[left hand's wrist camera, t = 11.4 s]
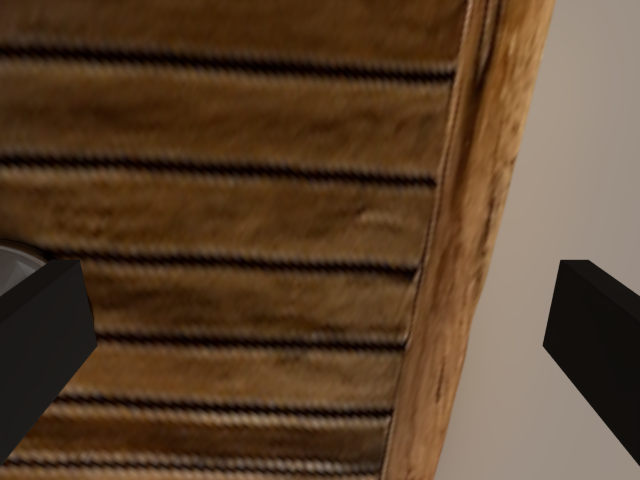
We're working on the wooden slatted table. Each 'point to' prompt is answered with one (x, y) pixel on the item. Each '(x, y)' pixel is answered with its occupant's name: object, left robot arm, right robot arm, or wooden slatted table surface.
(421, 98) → the wooden slatted table surface
